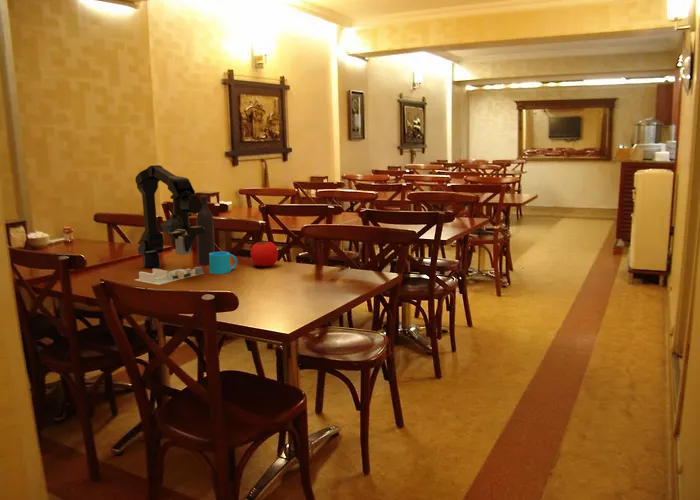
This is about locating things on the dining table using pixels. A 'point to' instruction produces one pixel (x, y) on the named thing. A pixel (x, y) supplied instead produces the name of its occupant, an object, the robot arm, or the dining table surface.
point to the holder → (154, 275)
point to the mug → (221, 262)
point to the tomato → (264, 253)
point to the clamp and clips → (192, 272)
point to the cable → (184, 276)
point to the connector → (181, 246)
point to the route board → (171, 274)
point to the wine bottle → (207, 239)
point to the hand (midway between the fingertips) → (183, 251)
